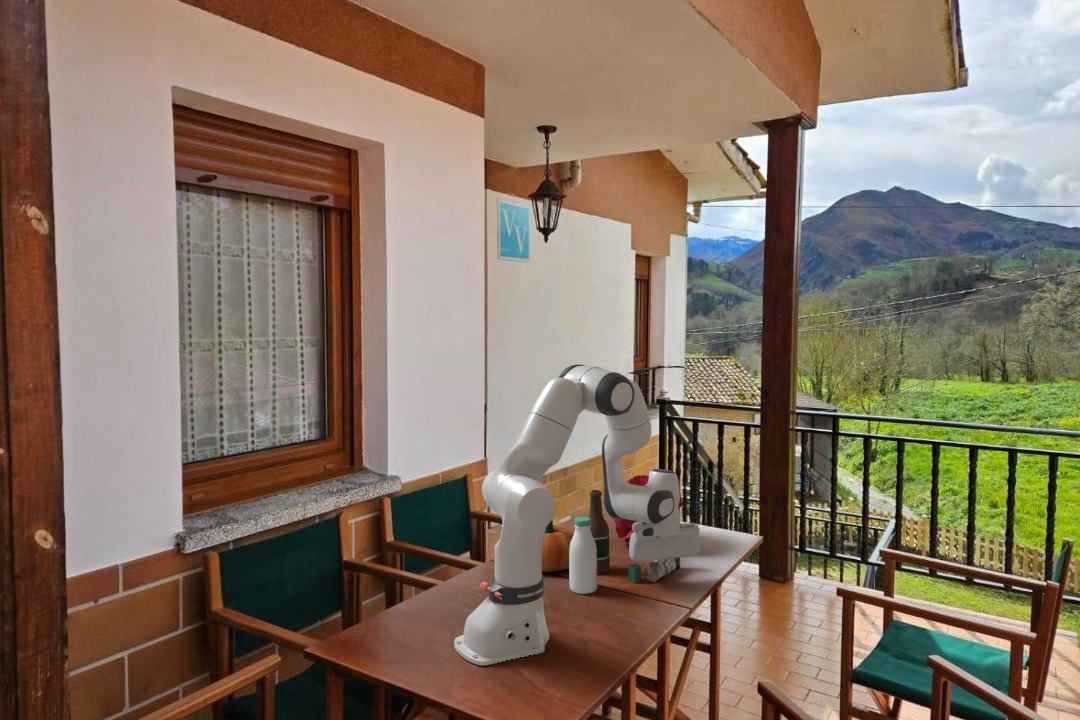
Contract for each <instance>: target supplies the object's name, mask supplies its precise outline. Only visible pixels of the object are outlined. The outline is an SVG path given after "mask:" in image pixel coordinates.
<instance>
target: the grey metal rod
mask: <svg viewBox="0 0 1080 720" xmlns="http://www.w3.org/2000/svg"><path fill="white" fill-rule="evenodd" d="M647 577H649V573H648V574H645V575H641V579H643V580H646V579H645V578H647ZM647 579H648V578H647Z"/></svg>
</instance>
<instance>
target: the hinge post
mask: <svg viewBox="0 0 1080 720" xmlns="http://www.w3.org/2000/svg"><path fill="white" fill-rule="evenodd" d="M678 569H681V557H679V558H676V569H675V570H674V571H679V570H678Z"/></svg>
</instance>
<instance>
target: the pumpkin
mask: <svg viewBox="0 0 1080 720" xmlns="http://www.w3.org/2000/svg"><path fill="white" fill-rule="evenodd" d="M553 519H554V518H553ZM553 519H552V521H551V522H550V523H549V524H548V525H547V526H546V529H545V533H544V537H543V542H542V572H546V573H547V572H548V573H549V572H550V573H551V572H557V571H558V572H559V571H563V570H564V571H565V570H569V549H570V543H571V540H572V538H573V536H574V532H571V530H569V529H567V528H566V527H564V526H562V525H555V524H553V523H554V522H553V521H554V520H553Z"/></svg>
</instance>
